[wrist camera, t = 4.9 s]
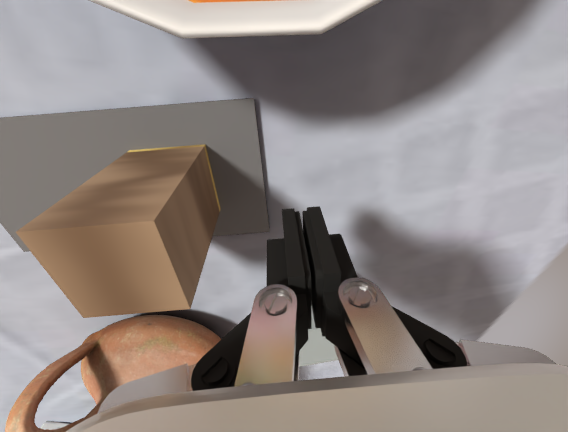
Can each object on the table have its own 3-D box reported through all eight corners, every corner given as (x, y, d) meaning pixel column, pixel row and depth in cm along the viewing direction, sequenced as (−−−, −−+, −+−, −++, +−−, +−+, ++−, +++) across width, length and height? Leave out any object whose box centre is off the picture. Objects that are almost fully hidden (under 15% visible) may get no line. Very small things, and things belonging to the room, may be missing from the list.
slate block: (326, 254, 23) (345, 323, 17) (332, 287, 26) (351, 357, 20) (278, 264, 24) (281, 335, 18) (289, 296, 26) (294, 367, 20)
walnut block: (205, 144, 17) (154, 220, 9) (220, 209, 20) (190, 308, 12) (129, 150, 17) (15, 232, 9) (155, 214, 20) (83, 317, 12)
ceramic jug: (266, 350, 31) (264, 535, 19) (182, 389, 35) (135, 564, 23) (145, 261, 23) (7, 485, 11) (52, 325, 27) (-125, 542, 15)
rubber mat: (253, 97, 16) (253, 98, 16) (269, 228, 21) (269, 231, 21) (-72, 123, 16) (-80, 124, 15) (27, 248, 21) (23, 251, 21)
